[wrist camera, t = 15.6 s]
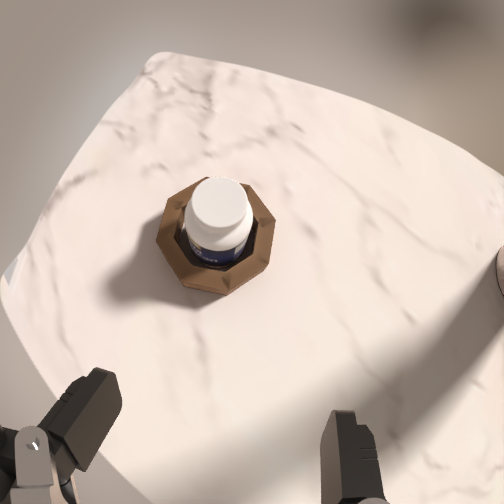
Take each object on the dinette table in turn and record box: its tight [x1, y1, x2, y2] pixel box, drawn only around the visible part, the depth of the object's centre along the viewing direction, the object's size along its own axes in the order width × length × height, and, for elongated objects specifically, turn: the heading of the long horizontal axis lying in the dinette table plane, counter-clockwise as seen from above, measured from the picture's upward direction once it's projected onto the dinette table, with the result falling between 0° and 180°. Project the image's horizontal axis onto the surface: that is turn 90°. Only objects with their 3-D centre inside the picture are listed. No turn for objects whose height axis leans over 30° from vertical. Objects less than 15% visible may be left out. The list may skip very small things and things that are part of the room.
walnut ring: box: [156, 177, 276, 295], centre depth 29 cm, size 10×10×3 cm
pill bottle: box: [184, 176, 253, 268], centre depth 26 cm, size 5×5×10 cm
